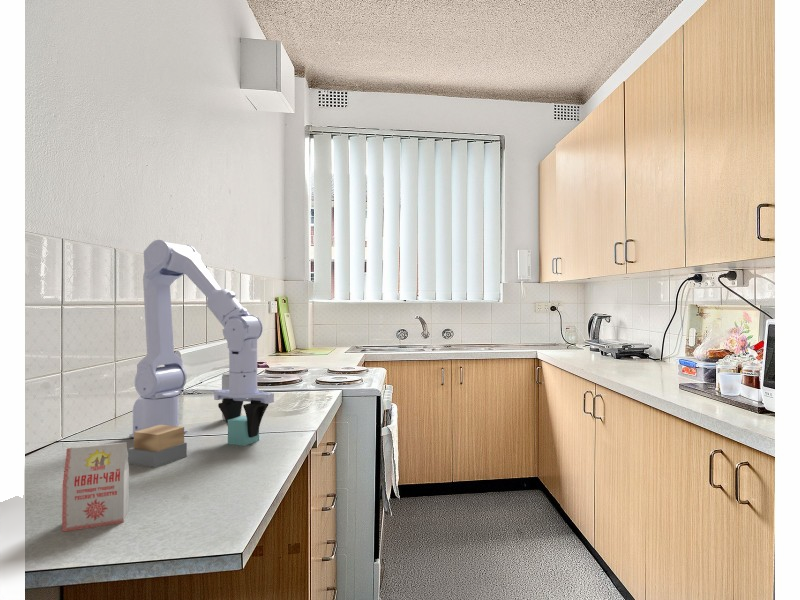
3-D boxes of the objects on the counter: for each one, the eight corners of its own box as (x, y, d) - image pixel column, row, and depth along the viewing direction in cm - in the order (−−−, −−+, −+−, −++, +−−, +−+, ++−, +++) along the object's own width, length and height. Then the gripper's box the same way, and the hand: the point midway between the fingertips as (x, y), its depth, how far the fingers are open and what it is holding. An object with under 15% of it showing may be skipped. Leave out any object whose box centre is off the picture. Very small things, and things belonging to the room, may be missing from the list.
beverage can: (235, 421, 117) (235, 374, 118) (218, 421, 118) (217, 374, 119) (245, 417, 122) (244, 372, 122) (228, 417, 123) (228, 371, 123)
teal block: (227, 443, 97) (227, 419, 97) (242, 438, 101) (242, 415, 102) (244, 445, 96) (244, 421, 96) (259, 440, 100) (259, 417, 100)
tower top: (133, 448, 86) (133, 432, 86) (160, 439, 91) (160, 424, 91) (158, 451, 84) (158, 434, 84) (184, 442, 89) (184, 427, 89)
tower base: (127, 465, 85) (127, 448, 85) (160, 454, 92) (160, 439, 92) (154, 469, 83) (155, 452, 83) (186, 458, 89) (186, 442, 89)
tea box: (71, 519, 62) (71, 444, 62) (128, 511, 64) (128, 439, 64) (62, 531, 58) (62, 452, 59) (123, 522, 61) (123, 445, 61)
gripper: (282, 370, 100) (283, 433, 99) (230, 368, 105) (230, 428, 105) (261, 374, 93) (261, 442, 93) (206, 371, 99) (206, 435, 98)
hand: (243, 435), depth 99 cm, fingers closed on teal block, 4 cm apart
